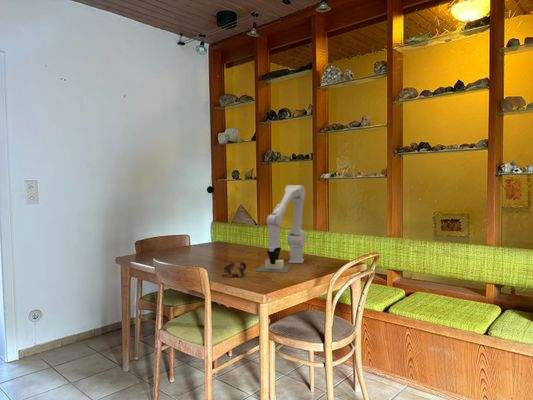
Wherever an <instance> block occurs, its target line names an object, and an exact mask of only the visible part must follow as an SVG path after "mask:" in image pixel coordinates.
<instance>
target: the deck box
mask: <svg viewBox="0 0 533 400" xmlns="http://www.w3.org/2000/svg"><path fill="white" fill-rule="evenodd" d="M284 262H285V261H284V259H278V260H276V261H275V264H271V263H270V259H269V258H267V259H265V260H264V264H265V269H283V268H284V265H285V263H284Z"/></svg>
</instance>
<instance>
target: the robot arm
mask: <svg viewBox="0 0 533 400" xmlns="http://www.w3.org/2000/svg"><path fill="white" fill-rule="evenodd" d="M283 195H284V196H283V197H282V200H281V201H280V203H277V204H276V206H275V208H274V209H273V211H272V213H271V214H269V215H268V216H267V217H266V221H265V222H266V224H267V228H268V244H266V247H267V248H268V250H267V251H266V253H267V255H268V257H269V258H268V259H270V263H271V264H275V261H276V260H279V256H280V252H281V250H282V247H281V245H280V240H281V239H280V237H281V234H280V231H281V229H280V226H281V224H282V222H283V217H284V215H285V213H286V211H287V206H288V204H289V203H290V202H291V200H292V201H293V214H292V215H293V216H292V229H290V230H289V231H288V235H287V239H286V242H287V244H288V246H289V247H290V248H289V255H290V256H289V260H288V263H289V264H291V263H293V264H303V263H304V261H305V258H303V257H304V250H303V249H304V247H305V245H306V243H307V237H306V233H305V232H304V231H303V230H302V225H303V210H304V200H305V198H306V189H305V187H304V186H303V184H299V185H297V184H296V185H293V184H291V185H290V184H287V185H286V186H285V188H284V194H283Z"/></svg>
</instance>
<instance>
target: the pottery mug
mask: <svg viewBox="0 0 533 400" xmlns="http://www.w3.org/2000/svg"><path fill="white" fill-rule="evenodd" d="M234 267H235V268H236V269H238V270H239V272H238V273H236V274H237V276H238V278H241V277H244V276H245V271H246V269H247V264H246V263H245V262H244V261H242V262H238V261H237V260H235V261H233V262H231V263H230V264H228V265H225V266H224V267H223V269H224V270H223V271H224V272H223V273H227V274H228V275H231V273H232V271H233V270H234Z"/></svg>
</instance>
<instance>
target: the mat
mask: <svg viewBox="0 0 533 400" xmlns="http://www.w3.org/2000/svg"><path fill="white" fill-rule="evenodd" d="M292 267H293V266H292V265H290V264H284V268H283V269H265V263H262V264H261V266H259V267H258V268H257V269H256V270H255V272H262V273H263V272H264V273H281V274H286V273H288V271H290V269H291V268H292Z"/></svg>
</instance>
